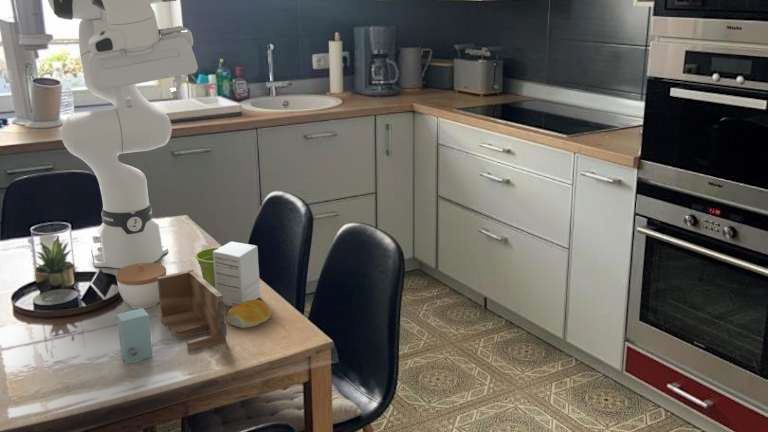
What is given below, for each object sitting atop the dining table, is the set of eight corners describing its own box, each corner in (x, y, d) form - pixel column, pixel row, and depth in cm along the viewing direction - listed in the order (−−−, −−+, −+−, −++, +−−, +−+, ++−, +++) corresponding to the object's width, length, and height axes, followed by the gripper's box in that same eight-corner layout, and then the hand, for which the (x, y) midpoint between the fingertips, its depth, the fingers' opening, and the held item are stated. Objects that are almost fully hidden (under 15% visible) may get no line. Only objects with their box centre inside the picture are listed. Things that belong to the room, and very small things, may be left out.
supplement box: (234, 291, 180) (231, 240, 175) (261, 297, 177) (258, 245, 173) (215, 303, 173) (211, 251, 169) (242, 309, 170) (239, 256, 166)
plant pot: (230, 278, 187) (227, 244, 185) (245, 290, 180) (243, 255, 177) (192, 286, 183) (189, 252, 180) (207, 299, 175) (204, 264, 172)
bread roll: (277, 316, 167) (276, 300, 166) (248, 332, 160) (246, 314, 159) (250, 307, 172) (249, 290, 171) (220, 322, 165) (219, 305, 164)
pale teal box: (121, 356, 150) (116, 314, 147) (147, 349, 153) (142, 308, 150) (128, 366, 146) (123, 323, 144) (154, 359, 149) (150, 316, 146)
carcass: (161, 320, 165) (157, 277, 162) (196, 311, 169) (192, 269, 166) (191, 353, 151) (187, 306, 148) (228, 342, 155) (225, 297, 152)
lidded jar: (154, 289, 181) (150, 252, 178) (178, 303, 174) (174, 264, 171) (110, 303, 174) (106, 264, 171) (133, 317, 167) (129, 277, 164)
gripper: (188, 20, 152) (203, 87, 159) (81, 39, 148) (101, 107, 154) (191, 27, 147) (206, 96, 153) (80, 47, 143) (100, 117, 149)
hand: (153, 102), depth 154 cm, fingers open, 8 cm apart
